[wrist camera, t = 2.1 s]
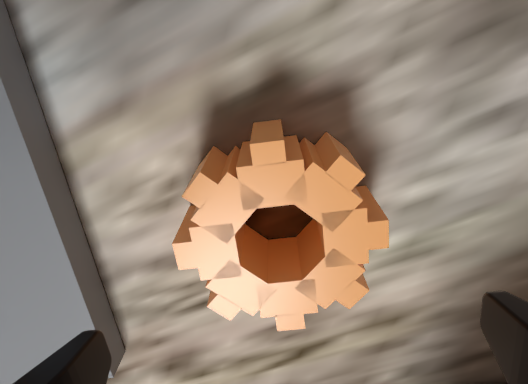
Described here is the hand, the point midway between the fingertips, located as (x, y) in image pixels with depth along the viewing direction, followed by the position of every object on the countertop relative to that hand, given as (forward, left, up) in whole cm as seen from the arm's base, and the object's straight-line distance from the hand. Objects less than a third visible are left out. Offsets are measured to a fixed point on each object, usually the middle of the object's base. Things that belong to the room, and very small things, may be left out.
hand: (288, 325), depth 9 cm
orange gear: (0, 0, -7) cm, 7 cm away
